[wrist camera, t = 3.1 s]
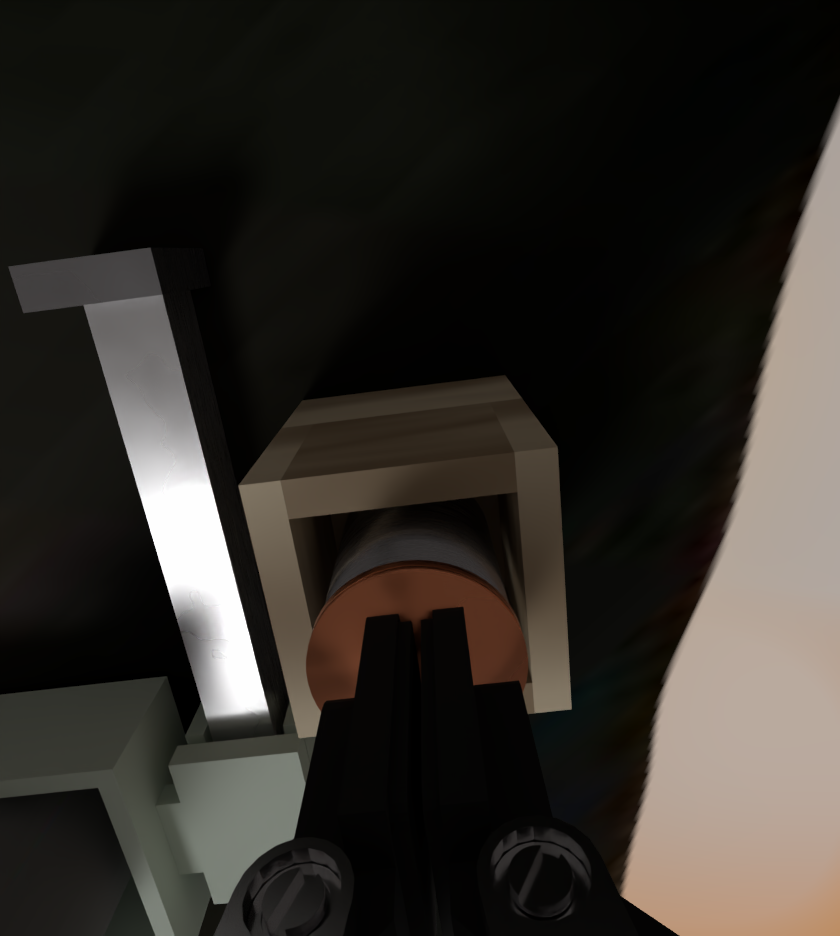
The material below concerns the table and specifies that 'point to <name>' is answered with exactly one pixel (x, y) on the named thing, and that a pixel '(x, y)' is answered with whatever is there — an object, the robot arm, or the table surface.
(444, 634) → the robot arm
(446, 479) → the wooden box
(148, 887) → the carriage
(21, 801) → the bottle
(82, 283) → the rail
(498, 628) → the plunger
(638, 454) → the table surface
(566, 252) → the table surface
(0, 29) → the table surface
